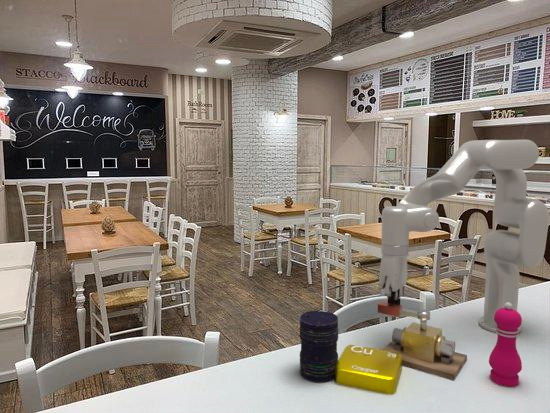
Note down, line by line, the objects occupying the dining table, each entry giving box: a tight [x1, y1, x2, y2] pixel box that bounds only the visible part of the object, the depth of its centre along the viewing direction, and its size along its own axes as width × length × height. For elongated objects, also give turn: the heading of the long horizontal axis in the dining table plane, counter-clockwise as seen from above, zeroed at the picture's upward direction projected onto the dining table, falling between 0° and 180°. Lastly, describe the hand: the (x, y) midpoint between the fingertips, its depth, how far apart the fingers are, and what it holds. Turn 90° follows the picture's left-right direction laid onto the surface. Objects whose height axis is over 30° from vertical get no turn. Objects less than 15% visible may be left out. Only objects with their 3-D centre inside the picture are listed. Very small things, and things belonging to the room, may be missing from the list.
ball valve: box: [391, 319, 456, 364], centre depth 117 cm, size 7×16×10 cm, turn 53°
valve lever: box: [377, 301, 431, 321], centre depth 120 cm, size 14×3×2 cm, turn 55°
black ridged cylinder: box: [299, 310, 339, 384], centre depth 110 cm, size 10×10×15 cm
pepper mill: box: [488, 302, 523, 387], centre depth 106 cm, size 7×7×20 cm
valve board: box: [381, 340, 468, 381], centre depth 118 cm, size 13×20×2 cm, turn 53°
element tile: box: [334, 344, 403, 395], centre depth 110 cm, size 15×15×5 cm
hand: (393, 311), depth 126 cm, fingers closed
